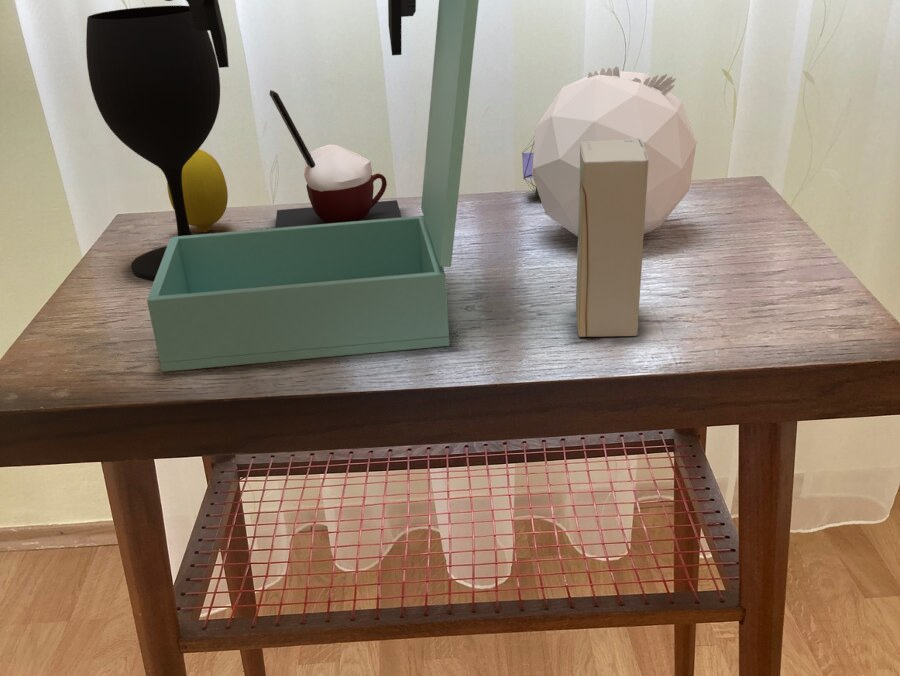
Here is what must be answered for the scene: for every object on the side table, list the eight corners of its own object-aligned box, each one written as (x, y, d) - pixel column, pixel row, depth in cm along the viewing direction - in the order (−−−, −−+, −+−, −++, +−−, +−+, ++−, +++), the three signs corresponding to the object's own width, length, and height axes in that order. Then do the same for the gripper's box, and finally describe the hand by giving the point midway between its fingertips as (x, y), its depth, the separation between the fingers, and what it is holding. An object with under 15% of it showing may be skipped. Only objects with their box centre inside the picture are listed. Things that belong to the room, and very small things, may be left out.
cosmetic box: (575, 309, 84) (577, 139, 77) (634, 307, 83) (641, 136, 76) (578, 339, 78) (580, 160, 72) (641, 337, 78) (649, 157, 71)
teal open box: (162, 372, 78) (146, 299, 75) (183, 300, 90) (170, 236, 87) (449, 346, 79) (445, 273, 76) (430, 279, 91) (426, 215, 89)
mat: (274, 253, 100) (273, 244, 100) (278, 218, 110) (276, 209, 110) (406, 241, 101) (405, 233, 100) (397, 208, 111) (397, 199, 110)
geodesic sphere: (744, 148, 98) (652, 7, 94) (737, 189, 87) (632, 31, 83) (607, 248, 106) (517, 122, 102) (585, 298, 95) (482, 158, 90)
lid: (475, -98, 64) (549, -89, 65) (447, -104, 77) (509, -96, 77) (439, 266, 75) (502, 271, 76) (420, 208, 88) (475, 213, 89)
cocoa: (389, 209, 107) (378, 74, 101) (387, 227, 102) (375, 86, 95) (292, 215, 108) (274, 81, 101) (285, 233, 102) (266, 93, 96)
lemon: (194, 223, 110) (178, 138, 106) (243, 225, 108) (230, 139, 104) (165, 239, 106) (148, 151, 101) (216, 241, 104) (201, 152, 100)
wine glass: (115, 261, 101) (60, 15, 89) (221, 238, 105) (181, 1, 94) (154, 289, 93) (99, 24, 82) (266, 263, 97) (228, 8, 86)
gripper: (478, -261, 67) (460, -6, 88) (65, -239, 66) (146, 15, 87) (493, -157, 66) (471, 77, 87) (71, -132, 64) (152, 100, 85)
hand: (309, 46), depth 87 cm, fingers open, 13 cm apart
